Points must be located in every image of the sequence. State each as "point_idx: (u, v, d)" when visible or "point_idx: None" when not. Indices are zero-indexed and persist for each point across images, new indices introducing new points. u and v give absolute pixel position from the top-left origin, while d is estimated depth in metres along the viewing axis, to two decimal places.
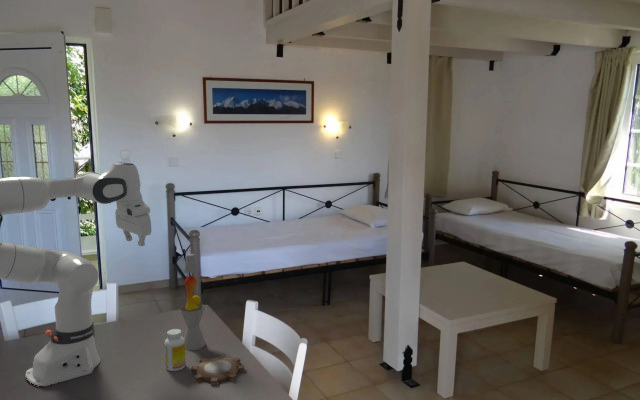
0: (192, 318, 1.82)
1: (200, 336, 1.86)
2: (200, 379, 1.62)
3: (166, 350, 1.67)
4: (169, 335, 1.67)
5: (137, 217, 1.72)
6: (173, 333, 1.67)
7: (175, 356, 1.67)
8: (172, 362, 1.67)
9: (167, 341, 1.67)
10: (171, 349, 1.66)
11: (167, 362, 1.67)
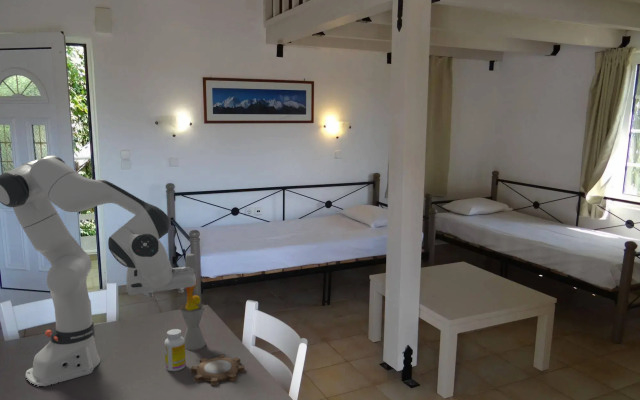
0: (192, 318, 1.82)
1: (200, 336, 1.86)
2: (200, 379, 1.62)
3: (166, 350, 1.67)
4: (169, 335, 1.67)
5: None
6: (173, 333, 1.67)
7: (175, 356, 1.67)
8: (172, 362, 1.67)
9: (167, 341, 1.67)
10: (171, 349, 1.66)
11: (167, 362, 1.67)
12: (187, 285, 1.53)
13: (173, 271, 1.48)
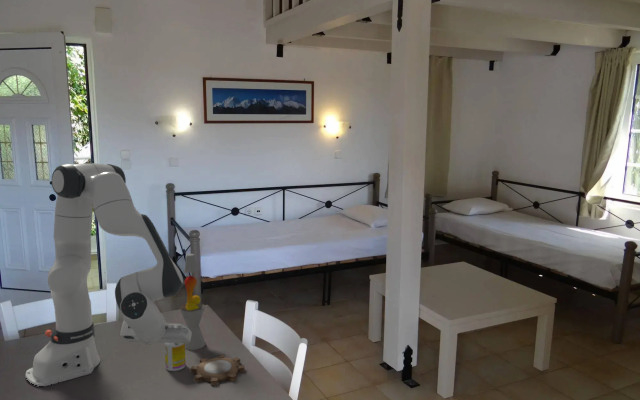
0: (192, 318, 1.82)
1: (200, 336, 1.86)
2: (200, 379, 1.62)
3: (166, 350, 1.67)
4: None
5: None
6: None
7: (175, 356, 1.67)
8: (172, 362, 1.67)
9: None
10: (171, 349, 1.66)
11: (167, 362, 1.67)
12: (181, 341, 1.52)
13: (166, 328, 1.47)
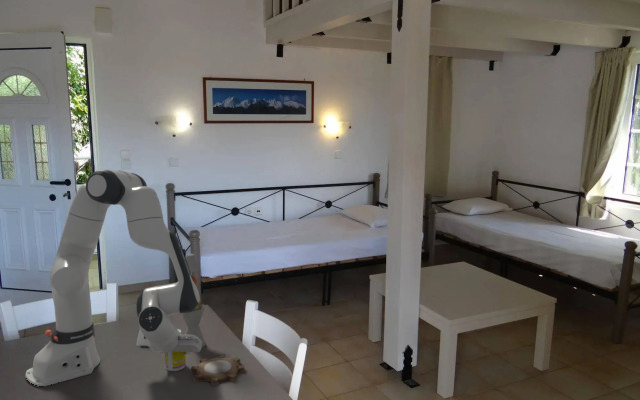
0: (192, 318, 1.82)
1: (200, 336, 1.86)
2: (200, 379, 1.62)
3: None
4: None
5: None
6: None
7: (175, 356, 1.67)
8: (172, 362, 1.67)
9: None
10: None
11: (167, 362, 1.67)
12: (192, 351, 1.64)
13: (179, 338, 1.59)
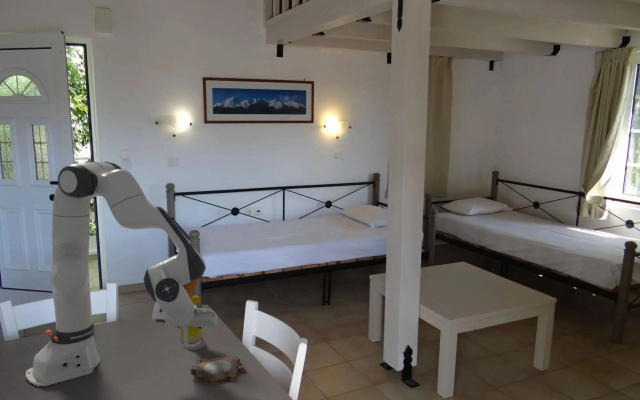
0: None
1: None
2: (200, 379, 1.62)
3: None
4: None
5: None
6: None
7: (191, 331, 1.64)
8: (187, 338, 1.64)
9: None
10: None
11: (182, 338, 1.65)
12: (208, 325, 1.62)
13: (195, 312, 1.56)
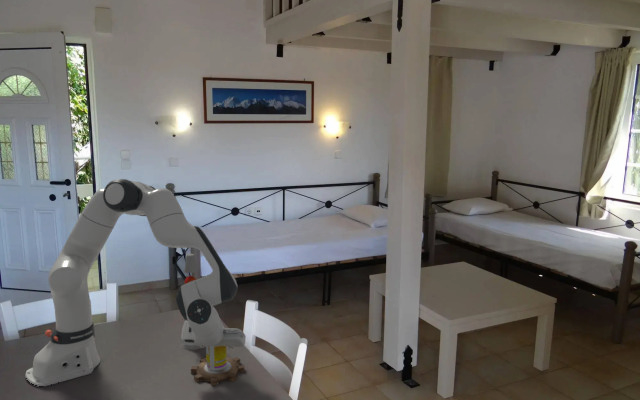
0: None
1: None
2: (200, 379, 1.62)
3: (208, 349, 1.64)
4: None
5: None
6: None
7: (217, 355, 1.64)
8: (214, 362, 1.64)
9: None
10: (213, 348, 1.63)
11: (209, 361, 1.65)
12: (236, 345, 1.61)
13: (224, 332, 1.56)
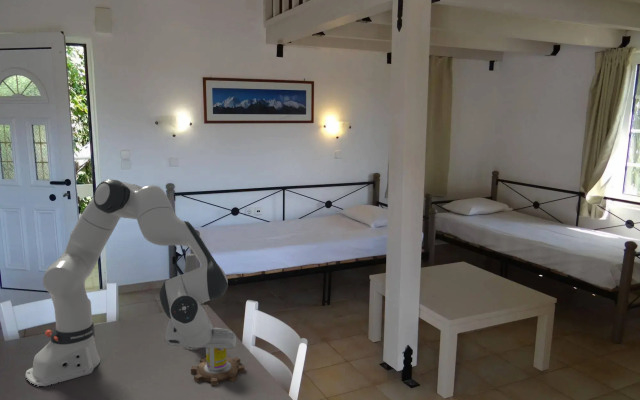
0: None
1: None
2: (200, 379, 1.62)
3: (208, 349, 1.64)
4: None
5: None
6: None
7: (217, 355, 1.64)
8: (214, 362, 1.64)
9: None
10: (213, 348, 1.63)
11: (209, 361, 1.65)
12: (226, 347, 1.47)
13: (212, 333, 1.42)
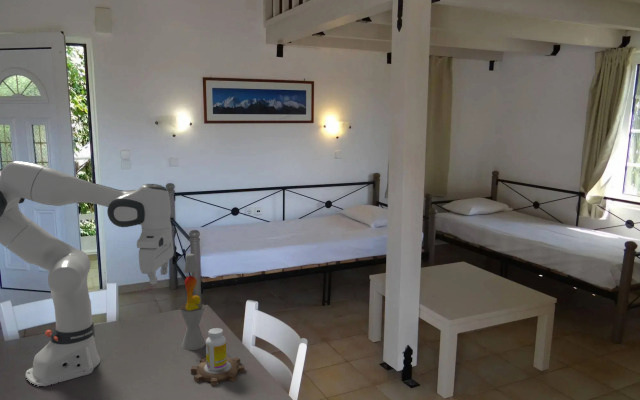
0: (192, 318, 1.82)
1: (200, 336, 1.86)
2: (200, 379, 1.62)
3: (208, 349, 1.64)
4: (211, 334, 1.64)
5: (140, 250, 1.47)
6: (215, 332, 1.64)
7: (217, 355, 1.64)
8: (214, 362, 1.64)
9: (209, 340, 1.64)
10: (213, 348, 1.63)
11: (209, 361, 1.65)
12: (171, 253, 1.64)
13: None
